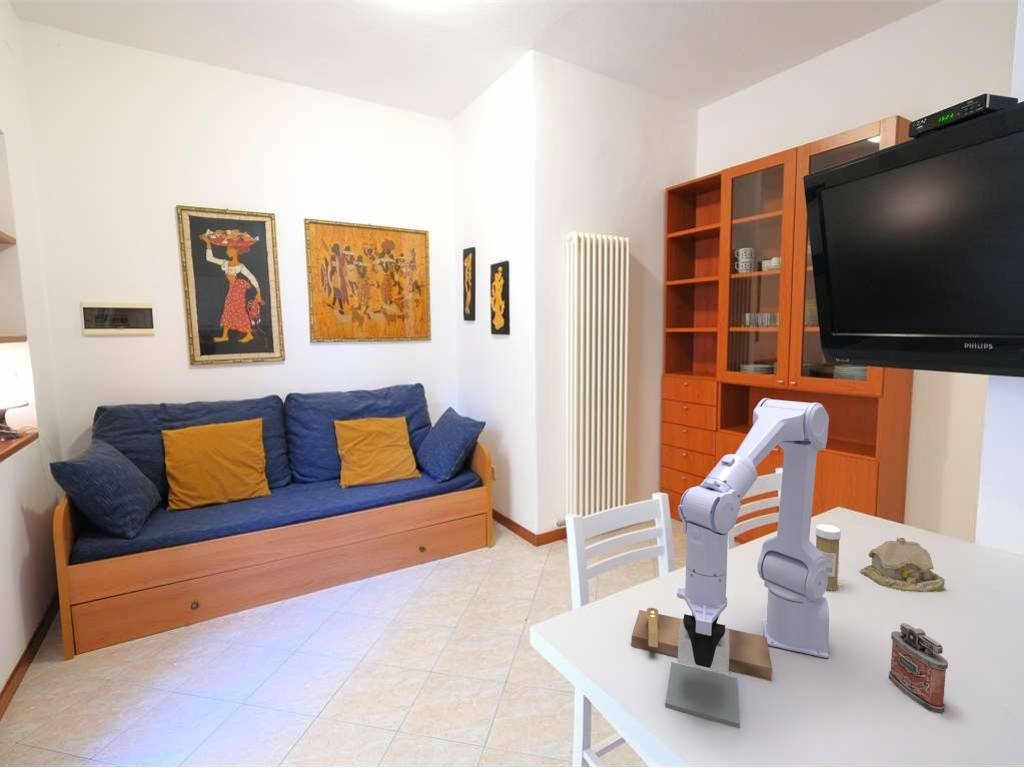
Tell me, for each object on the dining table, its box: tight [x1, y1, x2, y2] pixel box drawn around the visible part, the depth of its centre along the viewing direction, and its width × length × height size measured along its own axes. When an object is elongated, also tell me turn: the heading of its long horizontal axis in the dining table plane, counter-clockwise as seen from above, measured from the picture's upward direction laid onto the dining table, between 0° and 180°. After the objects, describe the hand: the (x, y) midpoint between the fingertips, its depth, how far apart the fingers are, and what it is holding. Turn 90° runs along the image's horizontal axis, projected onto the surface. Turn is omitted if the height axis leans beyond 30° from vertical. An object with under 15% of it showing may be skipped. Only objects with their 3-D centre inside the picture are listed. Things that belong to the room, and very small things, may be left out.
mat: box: [664, 661, 741, 729], centre depth 73 cm, size 10×10×1 cm
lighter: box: [888, 622, 949, 714], centre depth 72 cm, size 8×3×10 cm, turn 5°
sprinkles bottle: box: [815, 524, 841, 592], centre depth 105 cm, size 5×5×14 cm
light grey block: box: [677, 620, 730, 676], centre depth 72 cm, size 7×5×4 cm
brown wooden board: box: [631, 609, 773, 681], centre depth 84 cm, size 22×9×2 cm, turn 66°
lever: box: [646, 607, 659, 647], centre depth 85 cm, size 8×2×3 cm, turn 165°
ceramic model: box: [859, 537, 946, 593], centre depth 108 cm, size 14×11×10 cm
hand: (703, 653), depth 72 cm, fingers closed on light grey block, 5 cm apart
